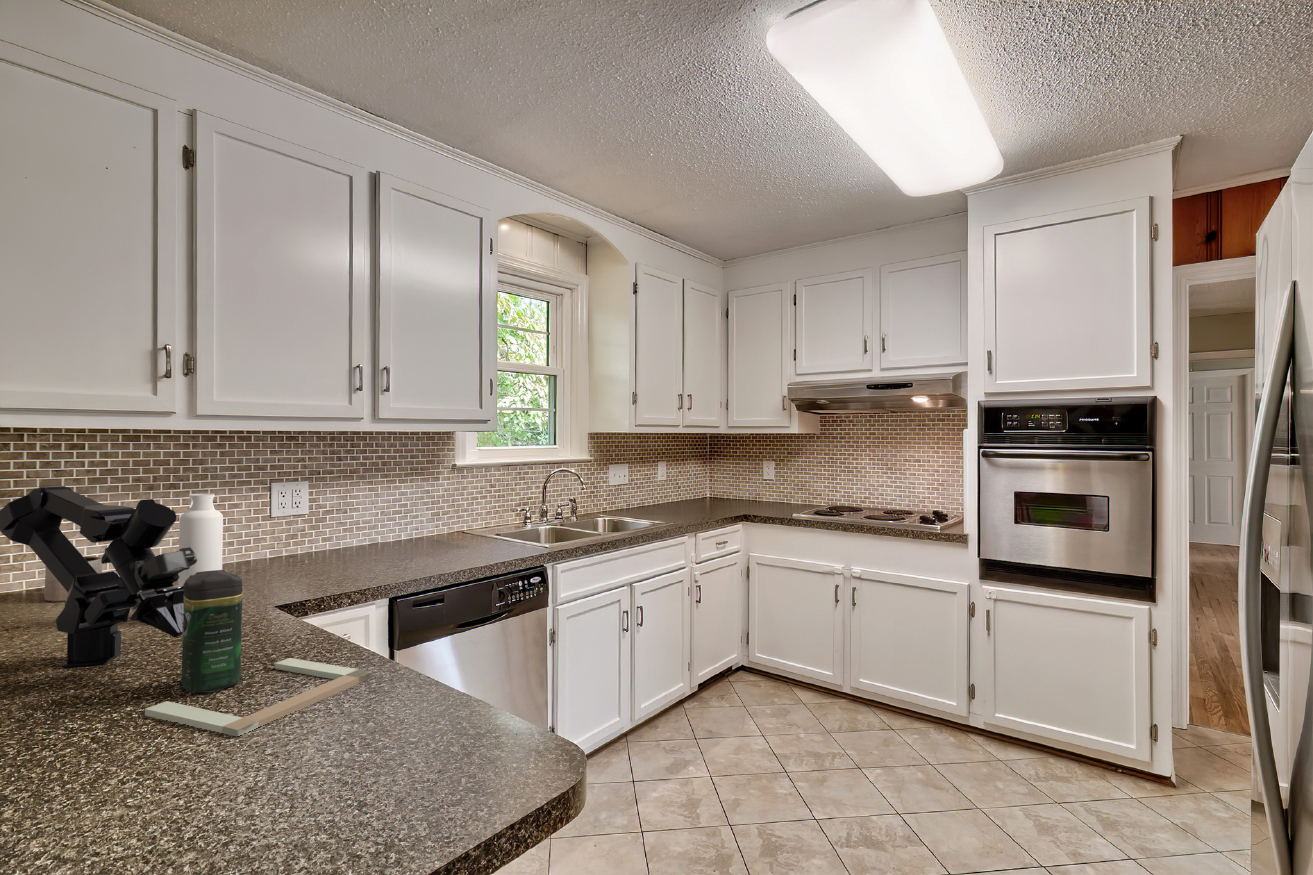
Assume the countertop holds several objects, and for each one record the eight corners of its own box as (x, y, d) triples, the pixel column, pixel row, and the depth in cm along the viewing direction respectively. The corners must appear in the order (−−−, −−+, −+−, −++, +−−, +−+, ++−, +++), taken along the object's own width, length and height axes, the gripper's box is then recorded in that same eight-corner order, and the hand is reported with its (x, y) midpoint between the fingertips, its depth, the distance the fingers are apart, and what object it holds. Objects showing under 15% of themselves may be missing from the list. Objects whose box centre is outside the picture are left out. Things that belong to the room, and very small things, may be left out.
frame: (144, 715, 94) (145, 708, 94) (289, 663, 116) (289, 657, 116) (237, 737, 87) (238, 729, 87) (372, 677, 110) (372, 671, 110)
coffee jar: (245, 686, 105) (247, 573, 105) (186, 699, 100) (188, 579, 100) (234, 671, 112) (236, 564, 112) (178, 682, 107) (180, 570, 107)
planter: (53, 595, 165) (54, 557, 165) (107, 591, 170) (108, 555, 170) (36, 604, 156) (37, 565, 156) (94, 600, 161) (95, 561, 161)
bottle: (176, 617, 145) (178, 493, 146) (219, 611, 151) (220, 492, 151) (179, 625, 139) (181, 496, 140) (223, 618, 145) (226, 494, 145)
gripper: (96, 542, 102) (141, 618, 98) (213, 528, 120) (255, 592, 116) (65, 587, 105) (107, 664, 101) (183, 567, 122) (223, 631, 118)
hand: (179, 635), depth 109 cm, fingers closed
